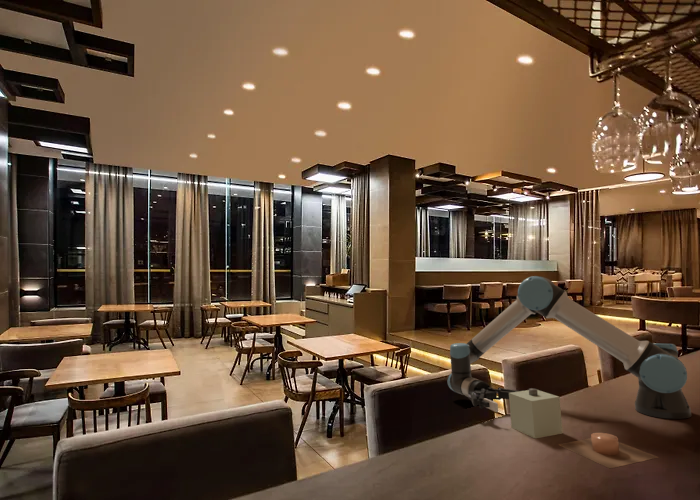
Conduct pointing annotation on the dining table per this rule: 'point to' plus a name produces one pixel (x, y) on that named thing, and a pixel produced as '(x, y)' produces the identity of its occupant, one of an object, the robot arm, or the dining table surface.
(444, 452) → the dining table surface
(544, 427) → the knobbed cream cube
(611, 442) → the glossy tan dome
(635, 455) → the board
